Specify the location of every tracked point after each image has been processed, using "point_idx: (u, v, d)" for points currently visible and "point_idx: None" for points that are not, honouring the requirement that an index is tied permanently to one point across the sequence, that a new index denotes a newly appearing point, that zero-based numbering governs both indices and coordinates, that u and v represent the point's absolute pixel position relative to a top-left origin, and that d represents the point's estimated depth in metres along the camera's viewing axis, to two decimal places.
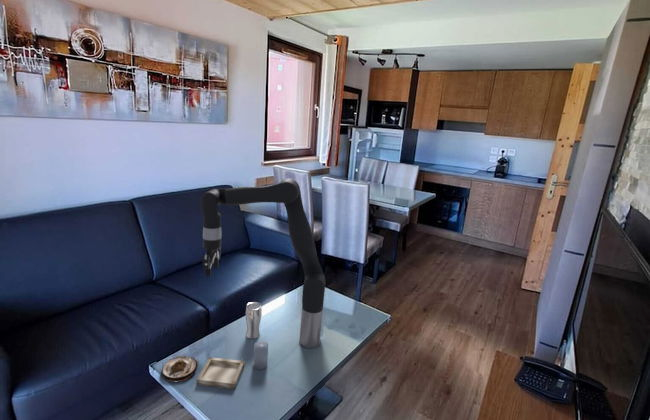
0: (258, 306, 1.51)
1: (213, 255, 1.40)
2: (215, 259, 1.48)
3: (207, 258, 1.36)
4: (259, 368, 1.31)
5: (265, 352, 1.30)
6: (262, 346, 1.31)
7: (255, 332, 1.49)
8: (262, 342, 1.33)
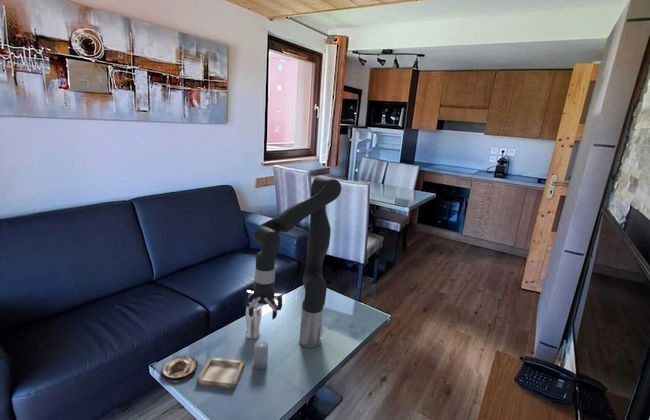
0: (258, 306, 1.51)
1: None
2: (252, 306, 1.28)
3: None
4: (259, 368, 1.31)
5: (265, 352, 1.30)
6: (262, 346, 1.31)
7: (255, 332, 1.49)
8: (262, 342, 1.33)
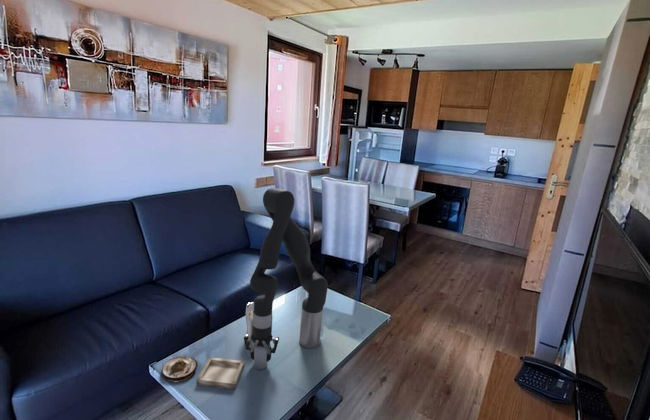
0: None
1: None
2: None
3: (278, 340, 1.31)
4: (259, 368, 1.31)
5: (265, 352, 1.30)
6: None
7: None
8: None
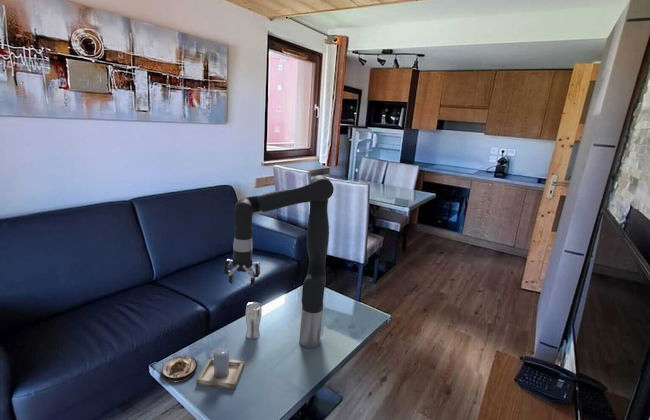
0: (258, 306, 1.51)
1: None
2: (232, 274, 1.38)
3: (259, 264, 1.37)
4: (219, 377, 1.24)
5: (225, 360, 1.23)
6: (222, 353, 1.23)
7: (255, 332, 1.49)
8: (223, 349, 1.26)
